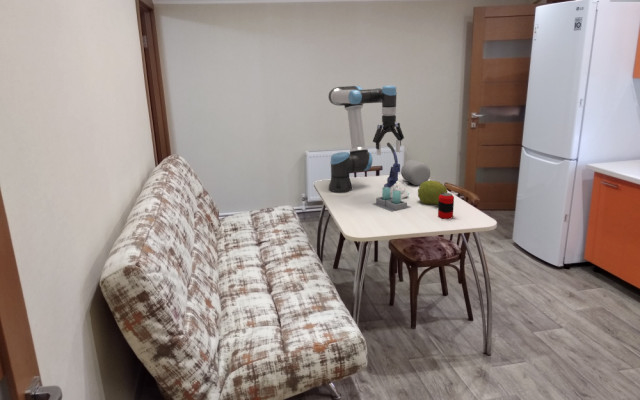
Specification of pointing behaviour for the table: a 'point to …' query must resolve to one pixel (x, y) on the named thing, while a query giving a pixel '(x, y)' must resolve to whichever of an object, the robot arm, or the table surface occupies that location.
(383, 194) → the jaw pin
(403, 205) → the housing
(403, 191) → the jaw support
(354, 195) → the table surface
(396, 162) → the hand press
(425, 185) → the fruit
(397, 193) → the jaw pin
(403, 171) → the grey rounded lump
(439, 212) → the soda can
